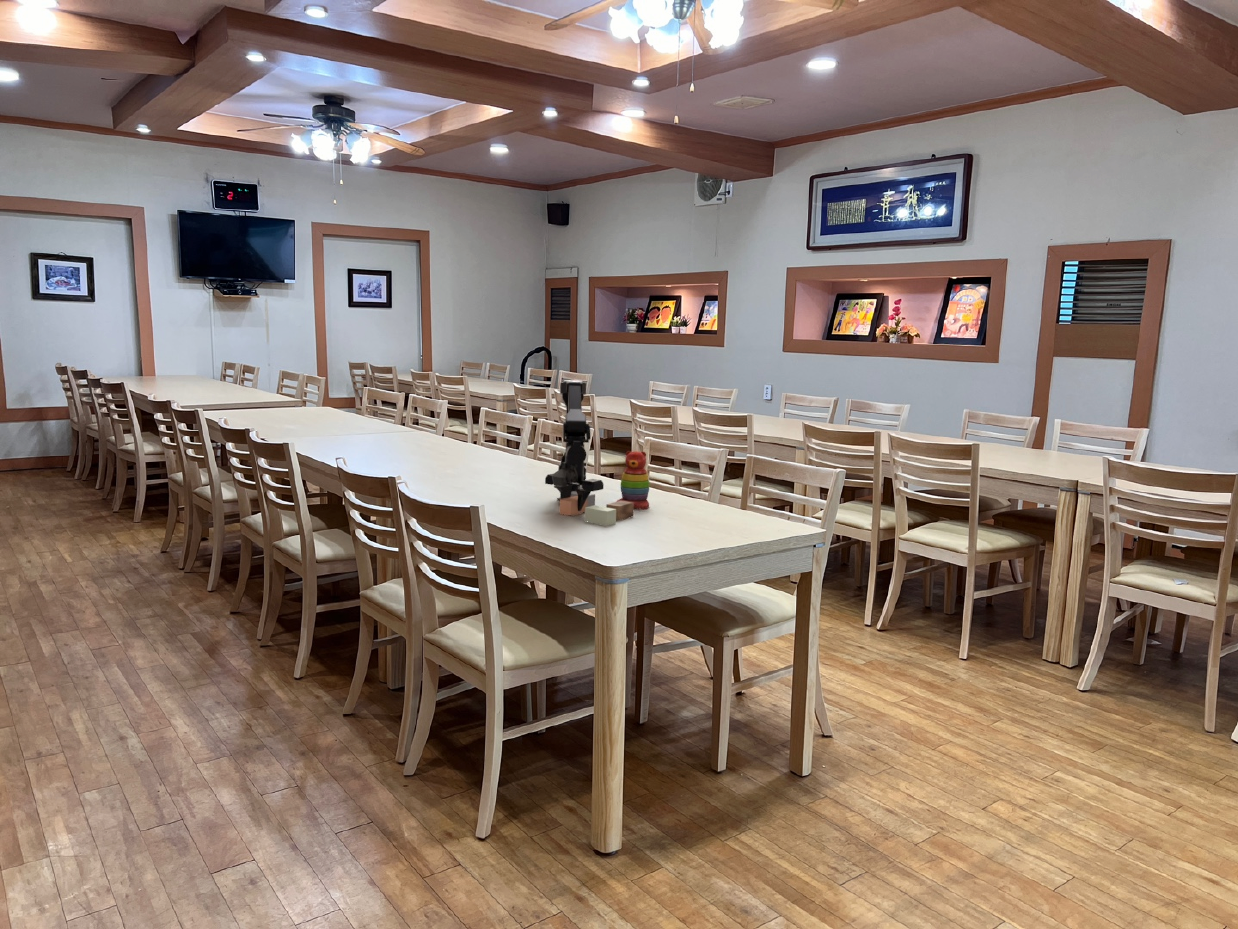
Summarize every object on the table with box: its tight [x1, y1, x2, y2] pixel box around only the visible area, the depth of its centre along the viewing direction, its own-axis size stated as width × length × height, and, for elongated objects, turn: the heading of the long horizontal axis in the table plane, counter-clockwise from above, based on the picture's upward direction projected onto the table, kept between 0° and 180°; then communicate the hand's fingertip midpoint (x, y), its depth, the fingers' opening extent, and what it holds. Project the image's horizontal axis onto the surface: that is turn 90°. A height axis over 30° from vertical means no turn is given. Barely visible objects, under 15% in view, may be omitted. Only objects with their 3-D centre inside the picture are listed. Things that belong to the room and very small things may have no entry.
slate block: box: [571, 491, 596, 507], centre depth 278 cm, size 8×4×4 cm, turn 55°
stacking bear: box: [615, 450, 650, 510], centre depth 283 cm, size 11×10×18 cm
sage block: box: [584, 504, 617, 527], centre depth 257 cm, size 8×4×4 cm, turn 55°
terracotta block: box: [558, 496, 587, 516], centre depth 269 cm, size 8×4×4 cm, turn 145°
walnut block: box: [605, 500, 635, 522], centre depth 265 cm, size 8×4×4 cm, turn 145°
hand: (573, 509), depth 269 cm, fingers closed on terracotta block, 4 cm apart
